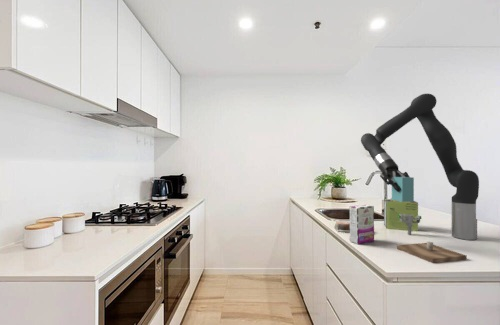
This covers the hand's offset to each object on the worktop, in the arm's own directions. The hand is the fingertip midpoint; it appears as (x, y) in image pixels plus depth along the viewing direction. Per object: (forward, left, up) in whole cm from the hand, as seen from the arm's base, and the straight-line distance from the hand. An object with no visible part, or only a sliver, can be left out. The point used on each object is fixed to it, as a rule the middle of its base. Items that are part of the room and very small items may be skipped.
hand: (405, 190), depth 112 cm
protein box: (-23, -26, -24) cm, 43 cm away
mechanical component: (-16, -13, -24) cm, 32 cm away
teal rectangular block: (0, -2, -5) cm, 5 cm away
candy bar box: (+16, -8, -24) cm, 30 cm away
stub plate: (0, +12, -24) cm, 27 cm away
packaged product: (+8, -26, -25) cm, 37 cm away
